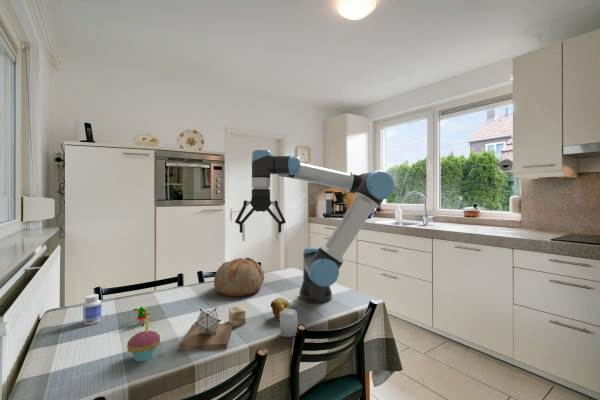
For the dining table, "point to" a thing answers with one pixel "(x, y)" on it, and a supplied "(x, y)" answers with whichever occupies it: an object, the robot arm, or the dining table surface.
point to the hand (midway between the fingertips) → (260, 240)
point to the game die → (207, 321)
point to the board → (207, 338)
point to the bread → (239, 277)
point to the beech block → (237, 315)
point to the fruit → (279, 306)
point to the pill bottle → (92, 309)
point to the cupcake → (143, 344)
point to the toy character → (141, 315)
